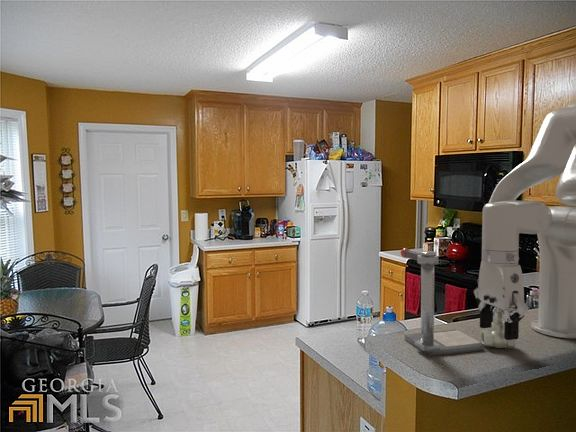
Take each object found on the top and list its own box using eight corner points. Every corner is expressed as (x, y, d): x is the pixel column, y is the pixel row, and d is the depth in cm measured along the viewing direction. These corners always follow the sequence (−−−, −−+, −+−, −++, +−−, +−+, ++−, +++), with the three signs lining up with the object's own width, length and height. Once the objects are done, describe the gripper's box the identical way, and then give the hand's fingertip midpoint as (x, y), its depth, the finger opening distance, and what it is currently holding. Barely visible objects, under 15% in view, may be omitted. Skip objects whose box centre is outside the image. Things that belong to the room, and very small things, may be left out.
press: (455, 334, 111) (456, 244, 110) (484, 349, 101) (486, 250, 99) (401, 339, 108) (401, 247, 106) (425, 356, 97) (425, 254, 96)
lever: (442, 266, 97) (442, 255, 97) (424, 267, 96) (424, 256, 96) (411, 256, 110) (411, 247, 110) (395, 257, 109) (395, 248, 109)
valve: (518, 353, 98) (519, 300, 97) (486, 351, 100) (487, 299, 99) (509, 343, 105) (510, 293, 104) (479, 341, 106) (480, 292, 105)
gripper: (544, 262, 93) (541, 344, 94) (488, 250, 110) (487, 320, 111) (513, 264, 91) (511, 348, 93) (461, 252, 108) (460, 323, 109)
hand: (498, 332), depth 102 cm, fingers open, 7 cm apart
